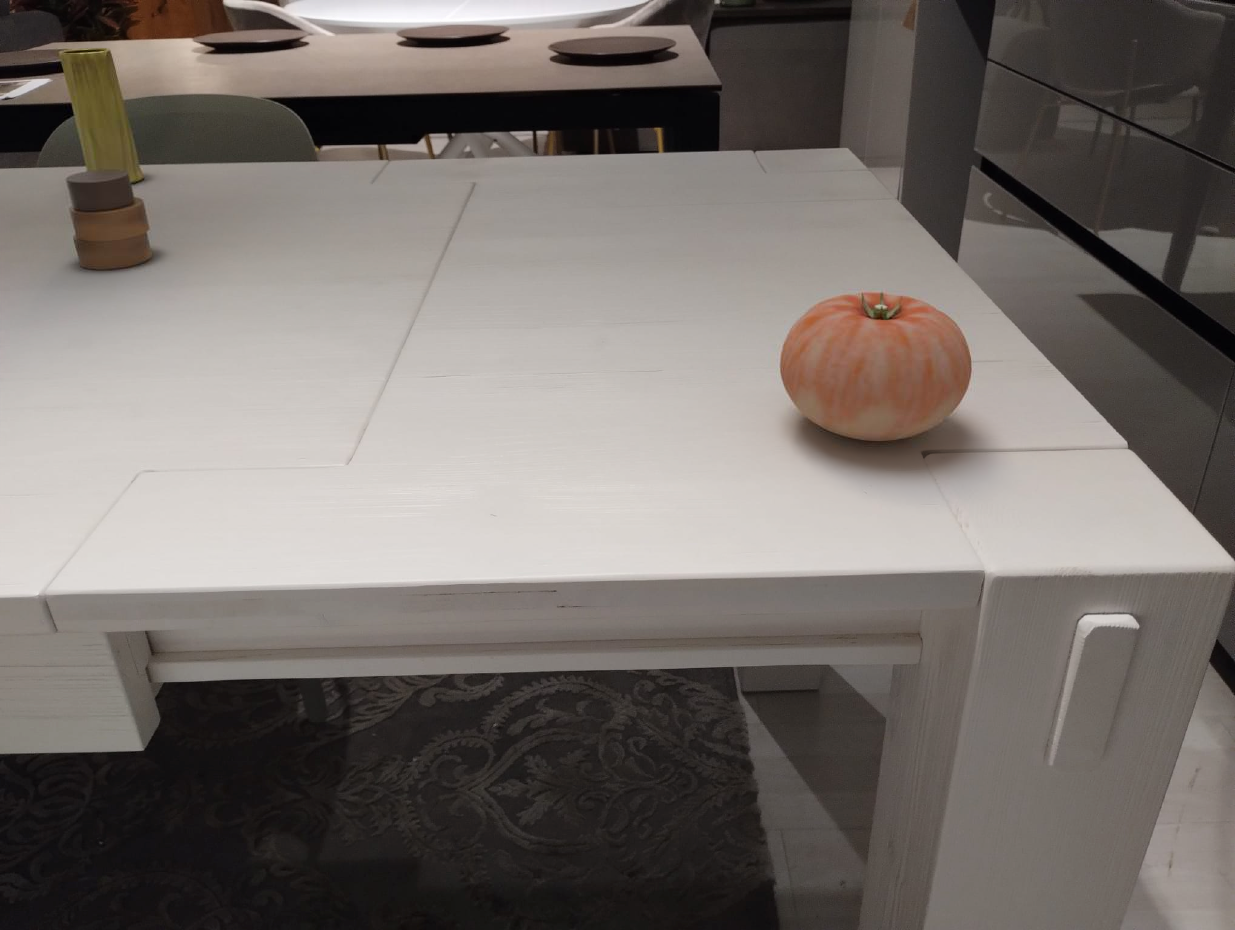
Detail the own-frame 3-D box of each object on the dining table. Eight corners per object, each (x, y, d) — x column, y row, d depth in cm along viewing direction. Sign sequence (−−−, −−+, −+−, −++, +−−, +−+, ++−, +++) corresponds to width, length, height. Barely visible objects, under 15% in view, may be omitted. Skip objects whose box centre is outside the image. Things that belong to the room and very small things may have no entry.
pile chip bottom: (67, 261, 91) (60, 234, 90) (131, 246, 95) (124, 219, 94) (101, 274, 88) (93, 246, 87) (165, 257, 92) (158, 230, 91)
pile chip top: (64, 234, 90) (56, 206, 89) (128, 219, 94) (121, 192, 93) (97, 246, 87) (90, 217, 86) (162, 230, 91) (156, 202, 90)
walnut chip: (62, 206, 89) (54, 177, 88) (117, 194, 92) (110, 166, 91) (90, 214, 86) (83, 185, 85) (146, 202, 90) (139, 174, 88)
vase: (88, 189, 116) (53, 55, 109) (88, 178, 120) (55, 49, 114) (145, 183, 118) (114, 51, 111) (143, 172, 123) (114, 46, 116)
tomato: (749, 398, 64) (756, 276, 60) (904, 379, 66) (920, 261, 63) (821, 479, 55) (834, 342, 51) (998, 454, 57) (1024, 320, 53)
